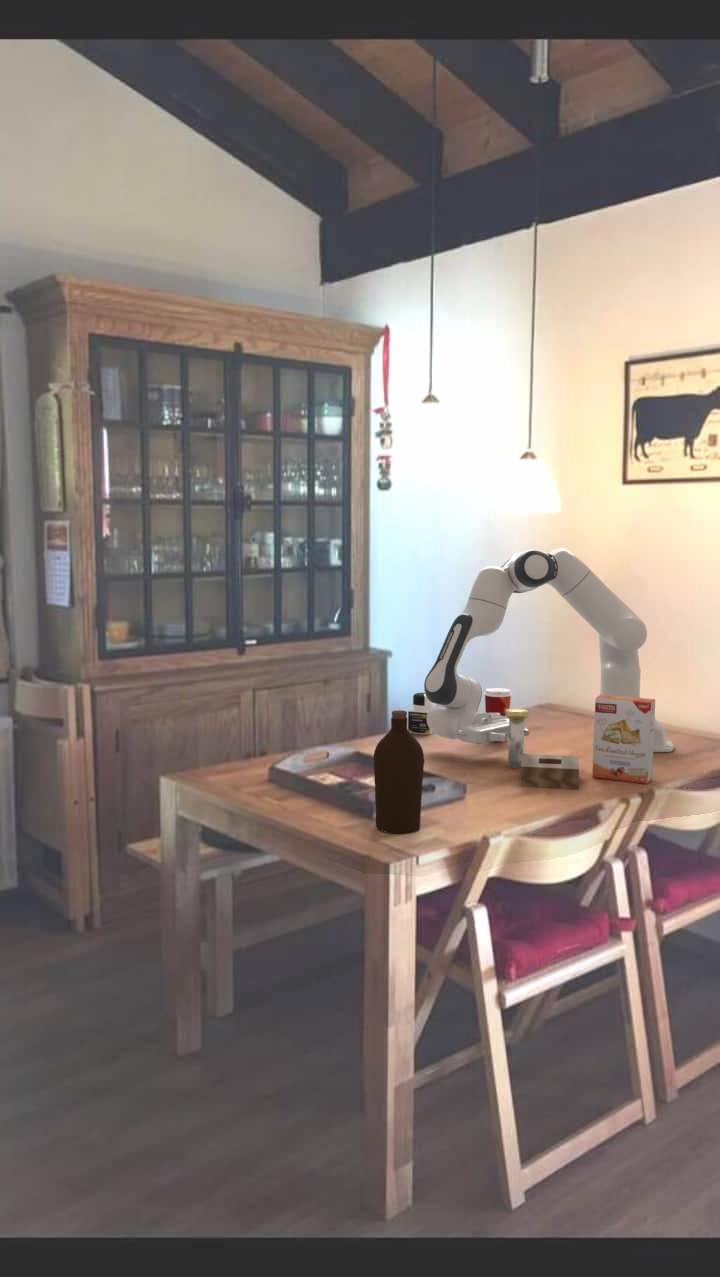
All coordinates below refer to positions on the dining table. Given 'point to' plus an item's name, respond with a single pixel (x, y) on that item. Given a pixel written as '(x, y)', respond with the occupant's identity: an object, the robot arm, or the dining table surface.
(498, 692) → the coffee cup
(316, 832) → the dining table surface
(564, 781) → the block
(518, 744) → the pin
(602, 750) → the cracker box
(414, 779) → the olive oil
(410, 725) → the medicine bottle
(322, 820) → the dining table surface
